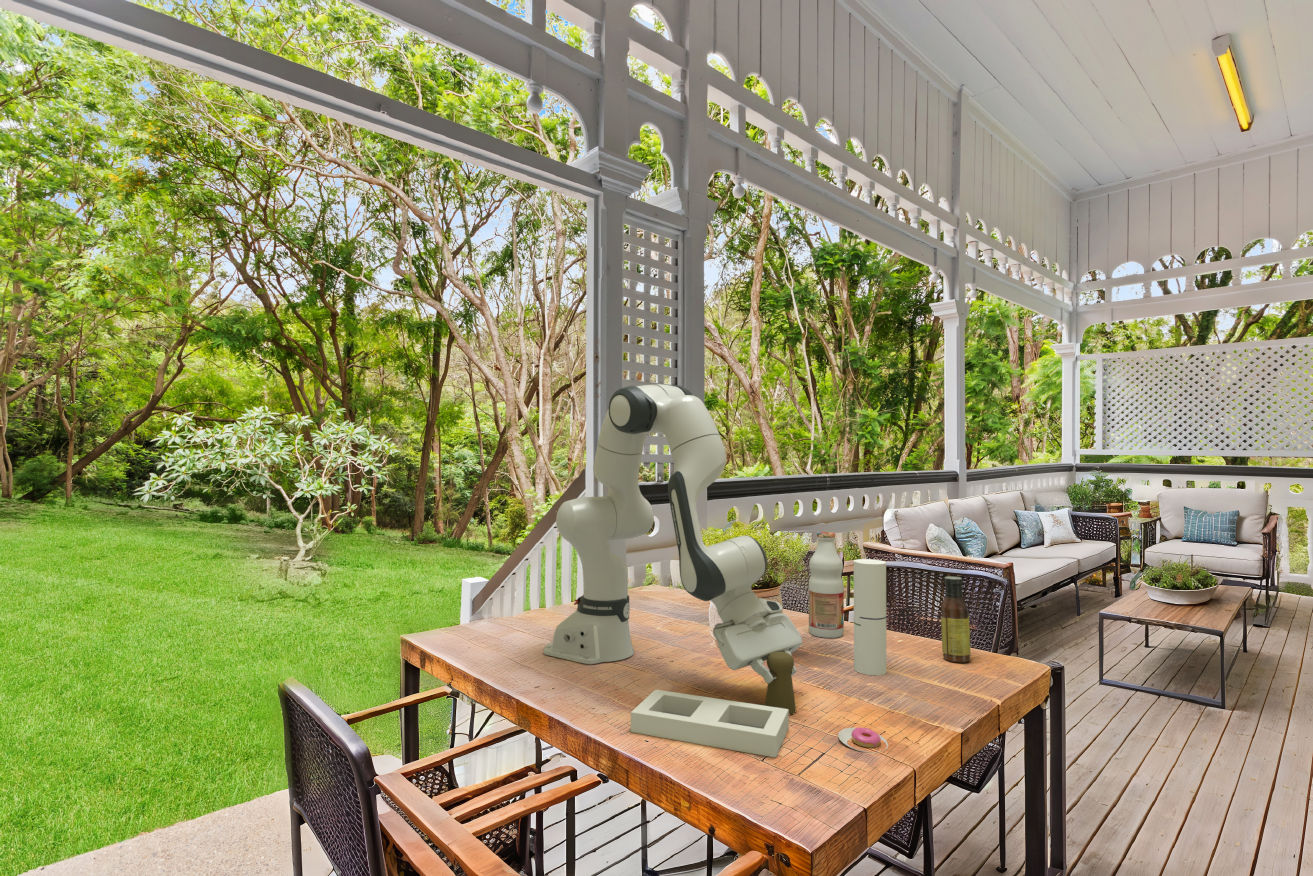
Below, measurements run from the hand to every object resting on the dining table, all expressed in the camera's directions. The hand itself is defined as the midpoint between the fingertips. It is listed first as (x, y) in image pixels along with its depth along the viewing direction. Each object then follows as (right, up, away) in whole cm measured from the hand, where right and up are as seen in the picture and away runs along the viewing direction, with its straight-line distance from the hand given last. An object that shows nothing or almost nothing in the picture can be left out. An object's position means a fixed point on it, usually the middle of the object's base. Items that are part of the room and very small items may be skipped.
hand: (782, 677), depth 125 cm
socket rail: (-15, -6, -9) cm, 18 cm away
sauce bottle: (+48, -8, +32) cm, 58 cm away
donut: (+10, -7, -13) cm, 18 cm away
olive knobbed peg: (0, -7, 0) cm, 7 cm away
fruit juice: (+22, -8, +54) cm, 59 cm away
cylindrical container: (+25, -7, +24) cm, 35 cm away
